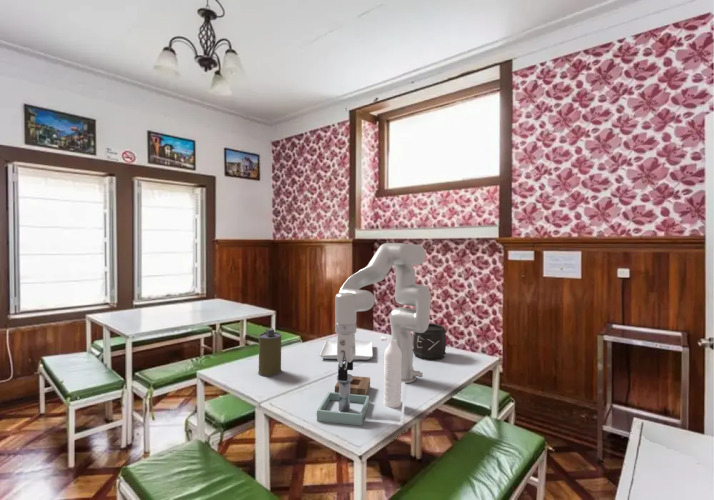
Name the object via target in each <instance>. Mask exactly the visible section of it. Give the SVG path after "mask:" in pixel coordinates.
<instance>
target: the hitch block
mask: <svg viewBox="0 0 714 500" xmlns="http://www.w3.org/2000/svg"><path fill="white" fill-rule="evenodd" d="M352 376H353V380H352V381H351V382H350V394H355V395H366V396H368V394H369V391H370V388H371V377H369V376H359V375H358V376H357V375H352ZM334 393H339V382H338V381H337V382H336V384H335V386H334Z"/></svg>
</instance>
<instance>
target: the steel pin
mask: <svg viewBox="0 0 714 500" xmlns="http://www.w3.org/2000/svg"><path fill="white" fill-rule="evenodd" d="M353 376H354V375H352V374H350V373H348V379H347V381H340V380H338V374H337V376H336V381H337V382H339V401H338V412H346V413H350V411H351V402H350V382H351V381H352V380H353Z"/></svg>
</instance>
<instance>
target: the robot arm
mask: <svg viewBox="0 0 714 500" xmlns="http://www.w3.org/2000/svg"><path fill="white" fill-rule="evenodd" d="M425 259H426V250H425V248H424V246H423V245H421V244H413V243H412V244H411V243H404V242H403V243H400V242H399V243H398V242H385V243H383V244H381V245H380V246H379V247H378V248H377V250H376V251H375V253H374V255H373V256H372V258H371V259H370V261H369V262H368V264H367V265H366V266H365V267H363V268H361V269H359V270H358V271H357V272H355V273H353V274H352V275H350V276H349V277H348V278H347V279H346V280H345V281H344V283H343V284H342V286H341V287H340V289H339V290H338V293H336V294H335V298H334V314H335V315H334V316H335V317H334V320H335V322H334V332H335V333H336V334H337V339H336V340H337V359H336V360H337V362H338V364H337V365H338V367H337V375H338V380H340V381H347V379H348V374H349V373H348V371H353V370H354V360H353V358H354V357H355V354H356V349H355V340H356V336H355V335H356V333H357V312H366V311H369V310H371V309H372V308H373V307H374V306H375V303H376V302H375V300H376V299H375V295H374V293H372V292H371V291H369V290H365V289H361V288H363V287H367V286H370V285H372V284H377V283H380V282H382V281H383V280H384V279H386V277H387V275H388V274H389V272H390V270H391V268H392V267H393V268H394V270H395V287H394V288H395V289H394V300H395V301H396V303H397V304H399V305H401V306H402V305H403V306H409V307H410V306H411V307H415V309H414V308H406V307H396V308H394V309H392V310H391V312H390V314H389V324H390V330H391V331H390V332H391V339H395V340H396V341H397V345H398V347H399V348H400V350H401V352H402V359H401V360H402V361H401V362H402V365H401V383H405V384H411V383H414V382H415V381H417V379H416V377H419V378H423V375H424V374H423V372H421V371H420V370H415V369H414V366H413V361H414V357H413V356H414V355H413V354H414V353H413V334H412V333H411V332H418V333H423V332H425V331H426V330H427V329H428V326H429V323H430V316H431V315H430V314H431V304H432V303H431V301H432V297H431V290H430V289H429V288H428V287H427V286H426V285H423V284H416V271H415V269H414V267H413V266H417V265H418V266H420V265H421V264H423V263H424V261H425Z"/></svg>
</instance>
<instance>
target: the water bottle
mask: <svg viewBox="0 0 714 500" xmlns="http://www.w3.org/2000/svg"><path fill="white" fill-rule="evenodd" d="M379 340H380V341H382V342H386V341H387V340H388V337H387V336H380V339H379ZM389 340H390V341H389V344H388V346H387V347H386V348H385V350H384V354H383V357H384V358H383V360H384V361H383V362H384V363H383V367H384V368H383V403H382V404H383V405H384V406H385V407H387V408H391V409H392V408H398V407H401V405H402V395H401V394H402V382H401V365H402V362H401V361H402V360H401V359H402V352H401V350H400V348H399V347H398V345H397V341H396V340H395V339H392V338H391V339H389Z"/></svg>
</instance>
